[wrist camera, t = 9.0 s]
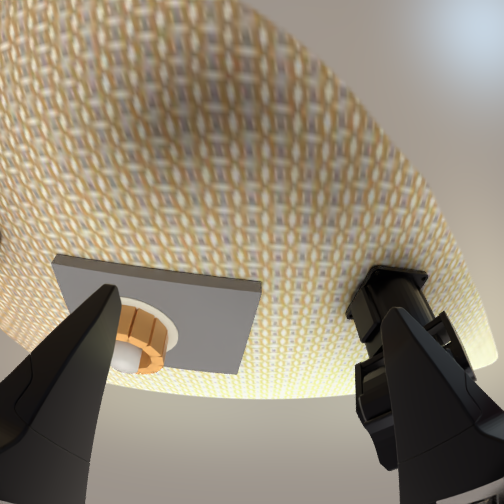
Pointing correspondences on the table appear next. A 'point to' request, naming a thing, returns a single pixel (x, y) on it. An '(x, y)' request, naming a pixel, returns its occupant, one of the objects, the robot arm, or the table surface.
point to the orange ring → (144, 337)
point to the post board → (171, 311)
